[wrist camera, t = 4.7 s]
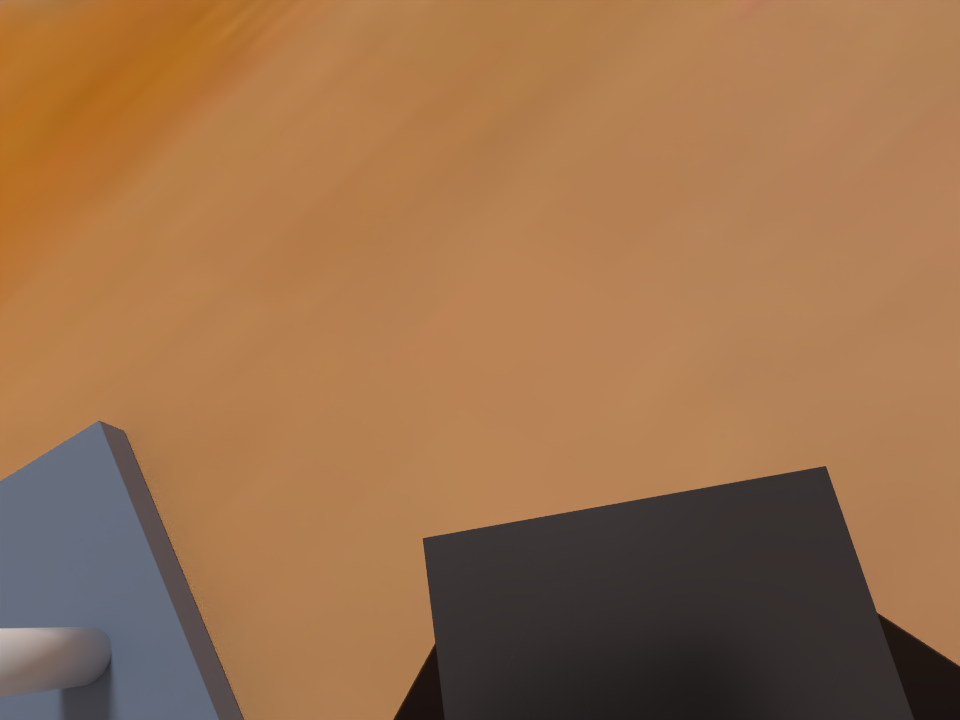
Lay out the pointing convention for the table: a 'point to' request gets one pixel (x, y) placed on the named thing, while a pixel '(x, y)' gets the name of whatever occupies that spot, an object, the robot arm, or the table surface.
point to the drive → (665, 612)
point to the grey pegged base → (97, 596)
